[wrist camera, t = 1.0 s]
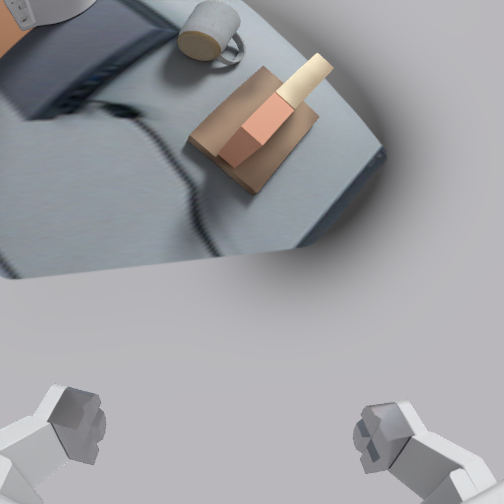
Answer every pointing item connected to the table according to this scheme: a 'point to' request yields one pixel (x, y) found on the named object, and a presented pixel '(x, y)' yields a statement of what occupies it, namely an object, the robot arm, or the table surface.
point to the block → (256, 130)
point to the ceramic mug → (211, 32)
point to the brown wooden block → (244, 105)
